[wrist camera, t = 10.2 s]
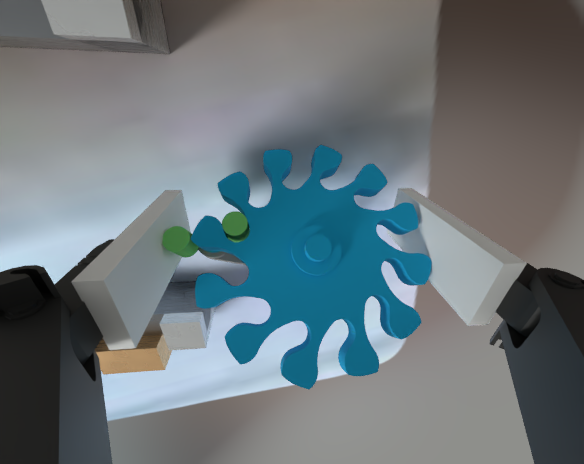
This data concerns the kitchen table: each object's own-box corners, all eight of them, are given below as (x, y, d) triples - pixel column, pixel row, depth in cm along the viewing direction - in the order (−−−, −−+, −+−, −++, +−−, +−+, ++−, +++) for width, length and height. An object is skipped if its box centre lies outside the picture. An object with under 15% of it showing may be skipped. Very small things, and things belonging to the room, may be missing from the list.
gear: (440, 159, 11) (445, 415, 8) (381, 207, 17) (372, 368, 14) (195, 110, 10) (110, 367, 8) (221, 177, 16) (178, 338, 13)
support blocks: (92, 327, 20) (55, 377, 16) (-120, -43, 9) (-354, -125, 6) (218, 320, 21) (209, 366, 17) (156, -23, 10) (99, -83, 7)
